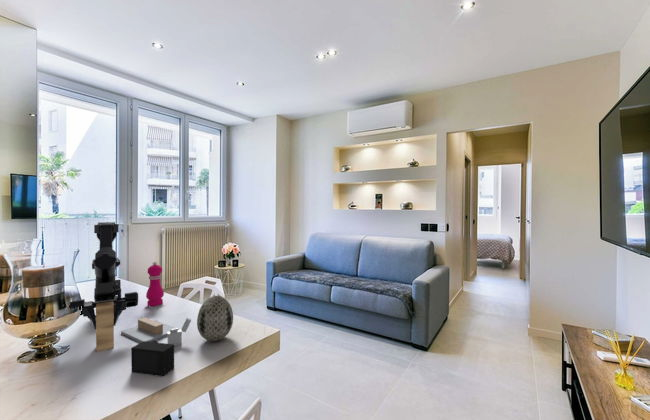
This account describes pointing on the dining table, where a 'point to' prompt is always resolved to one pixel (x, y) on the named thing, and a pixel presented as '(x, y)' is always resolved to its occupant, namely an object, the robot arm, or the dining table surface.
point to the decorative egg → (215, 318)
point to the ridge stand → (147, 330)
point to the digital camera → (152, 358)
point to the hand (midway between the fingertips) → (105, 327)
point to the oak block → (104, 326)
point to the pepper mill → (155, 286)
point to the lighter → (177, 333)
